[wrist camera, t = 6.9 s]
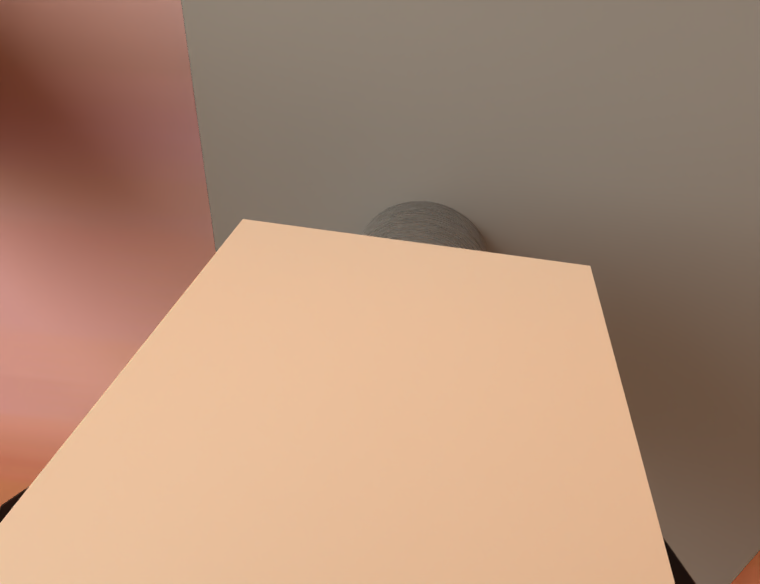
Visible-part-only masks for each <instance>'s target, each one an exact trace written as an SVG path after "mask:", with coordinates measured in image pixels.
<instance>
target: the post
mask: <svg viewBox="0 0 760 584" xmlns="http://www.w3.org/2000/svg"><path fill="white" fill-rule="evenodd" d="M362 235H365V236H373V237H380V238H388V239H395V240H403V241H410V242H417V243H425V244H432V245H440V246H447V247H454V248H462V249H469V250H477V251H484V252H488V251H487V247H486V244H485V241H484V239H483V237H482V235H481V233H480V232H479V230H478V229H477V228H476V226H475V225H474V224H473V223H472V222H471V221H470V220H469V219H468V218H466V217H465V216H464V215H463V214H461V213H459V212H458V211H456V210H454V209H452V208H450V207H448V206H445V205H442V204H439V203H434V202H428V201H410V202H404V203H400V204H397V205H394V206H391V207H389V208H387V209H385V210H383V211H382V212H380V213H379V214H377V215H376V216H375V217H374V218H373V219H372V220H371V221H370V222H369V223H368V224H367V226H366V227H365V229H364V230H363V232H362Z"/></svg>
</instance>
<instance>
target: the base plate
mask: <svg viewBox="0 0 760 584" xmlns="http://www.w3.org/2000/svg"><path fill="white" fill-rule="evenodd" d="M181 4H182V11H183V18H184V25H185V33H186V40H187V47H188V54H189V61H190V69H191V76H192V83H193V90H194V97H195V105H196V112H197V119H198V126H199V133H200V141H201V148H202V155H203V162H204V169H205V177H206V184H207V191H208V198H209V205H210V213H211V220H212V227H213V234H214V241H215V249H216V252H217V251H218V249H219V248H220V247H221V246H222V244H223V243H224V242H225V241H226V239H227V238H228V237H229V236H230V234H231V233H232V232H233V231H234V229H235V228H236V227H237V226H238V224H239V223H240V222H241V221H242V219H247V220H254V221H262V222H269V223H276V224H284V225H291V226H299V227H306V228H314V229H321V230H328V231H336V232H343V233H351V234H358V235H362V232H363V230H364V229H365V227H366V226H367V224H368V223H369V222H370V221H371V220H372V219H373V218H374V217H375V216H376V215H377V214H379V213H380V212H382V211H383V210H385V209H387V208H389V207H391V206H394V205H397V204H400V203H404V202H410V201H428V202H434V203H439V204H442V205H445V206H448V207H450V208H452V209H454V210H456V211H458V212H459V213H461V214H463V215H464V216H465V217H466V218H468V219H469V220H470V221H471V222H472V223H473V224H474V225H475V226H476V228H477V229H478V230H479V232H480V233H481V235H482V237H483V239H484V241H485V244H486V247H487V251H488V252H492V253H499V254H506V255H514V256H521V257H529V258H536V259H543V260H551V261H558V262H566V263H573V264H581V265H588V266H590V267H591V270H592V274H593V278H594V282H595V285H596V289H597V293H598V297H599V300H600V304H601V308H602V312H603V315H604V319H605V323H606V327H607V330H608V334H609V338H610V342H611V345H612V349H613V353H614V357H615V360H616V364H617V368H618V372H619V375H620V379H621V383H622V387H623V390H624V394H625V398H626V402H627V405H628V409H629V413H630V417H631V420H632V424H633V428H634V432H635V435H636V439H637V443H638V447H639V450H640V454H641V458H642V462H643V465H644V469H645V473H646V477H647V480H648V484H649V488H650V491H651V495H652V499H653V503H654V506H655V510H656V514H657V518H658V521H659V525H660V529H661V533H662V536H663V537H664V539H665V540H666V542H667V543H668V545H669V546H670V547H671V549H672V550H673V552H674V553H675V554H676V556H677V557H678V559H679V560H680V562H681V563H682V564H683V566H684V567H685V569H686V570H687V571H688V573H689V574H690V576H691V577H692V579H693V580H694V581H695V583H696V584H731V583H732V582H733V580H734V579H735V578H736V577H737V576H738V575H739V573H740V572H741V571H742V570H743V569H744V568H745V567H746V565H747V564H748V563H749V562H750V561H751V560H752V559H753V557H754V556H755V555H756V554H757V553H758V552H759V550H760V0H181Z"/></svg>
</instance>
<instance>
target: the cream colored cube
mask: <svg viewBox="0 0 760 584" xmlns="http://www.w3.org/2000/svg"><path fill="white" fill-rule="evenodd" d="M0 584H675V581H674V578H673V574H672V570H671V566H670V563H669V559H668V555H667V551H666V548H665V544H664V540H663V536H662V533H661V529H660V525H659V521H658V518H657V514H656V510H655V506H654V503H653V499H652V495H651V491H650V488H649V484H648V480H647V477H646V473H645V469H644V465H643V462H642V458H641V454H640V450H639V447H638V443H637V439H636V435H635V432H634V428H633V424H632V420H631V417H630V413H629V409H628V405H627V402H626V398H625V394H624V390H623V387H622V383H621V379H620V375H619V372H618V368H617V364H616V360H615V357H614V353H613V349H612V345H611V342H610V338H609V334H608V330H607V327H606V323H605V319H604V315H603V312H602V308H601V304H600V300H599V297H598V293H597V289H596V285H595V282H594V278H593V274H592V270H591V267H590V266H588V265H581V264H573V263H566V262H558V261H551V260H543V259H536V258H529V257H521V256H514V255H506V254H499V253H492V252H484V251H477V250H469V249H462V248H454V247H447V246H440V245H432V244H425V243H417V242H410V241H403V240H395V239H388V238H380V237H373V236H365V235H358V234H351V233H343V232H336V231H328V230H321V229H314V228H306V227H299V226H291V225H284V224H276V223H269V222H262V221H254V220H247V219H242V221H241V222H240V223H239V224H238V226H237V227H236V228H235V229H234V231H233V232H232V233H231V234H230V236H229V237H228V238H227V239H226V241H225V242H224V243H223V244H222V246H221V247H220V248H219V249H218V251H217V252H216V253H215V254H214V256H213V257H212V258H211V259H210V261H209V262H208V263H207V265H206V266H205V267H204V268H203V270H202V271H201V272H200V273H199V275H198V276H197V277H196V278H195V280H194V281H193V282H192V283H191V285H190V286H189V287H188V288H187V290H186V291H185V292H184V293H183V295H182V296H181V297H180V298H179V300H178V301H177V302H176V303H175V305H174V306H173V307H172V308H171V310H170V311H169V312H168V313H167V315H166V316H165V317H164V318H163V320H162V321H161V322H160V323H159V325H158V326H157V327H156V328H155V330H154V331H153V332H152V333H151V335H150V336H149V337H148V338H147V340H146V341H145V342H144V343H143V345H142V346H141V347H140V348H139V350H138V351H137V352H136V353H135V355H134V356H133V357H132V359H131V360H130V361H129V362H128V364H127V365H126V366H125V367H124V369H123V370H122V371H121V372H120V374H119V375H118V376H117V377H116V379H115V380H114V381H113V382H112V384H111V385H110V386H109V387H108V389H107V390H106V391H105V392H104V394H103V395H102V396H101V397H100V399H99V400H98V401H97V402H96V404H95V405H94V406H93V407H92V409H91V410H90V411H89V412H88V414H87V415H86V416H85V417H84V419H83V420H82V421H81V422H80V424H79V425H78V426H77V427H76V429H75V430H74V431H73V432H72V434H71V435H70V436H69V437H68V439H67V440H66V441H65V442H64V444H63V445H62V446H61V447H60V449H59V450H58V451H57V453H56V454H55V455H54V456H53V458H52V459H51V460H50V461H49V463H48V464H47V465H46V466H45V468H44V469H43V470H42V471H41V473H40V474H39V475H38V476H37V478H36V479H35V480H34V481H33V483H32V484H31V485H30V486H29V488H28V489H27V490H26V491H25V493H24V494H23V495H22V496H21V498H20V499H19V500H18V501H17V503H16V504H15V505H14V506H13V508H12V509H11V510H10V511H9V513H8V514H7V515H6V516H5V518H4V519H3V520H2V521H1V523H0Z"/></svg>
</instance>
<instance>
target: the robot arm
mask: <svg viewBox="0 0 760 584" xmlns="http://www.w3.org/2000/svg"><path fill="white" fill-rule="evenodd" d="M28 488H29V487H27V488H26V489H24V490H23V491H22V492H20V493H19V494H17V495H16V496H14V497H13V498H11V499H10V500H8V501H7V502H5V503H4V504H2V505H1V507H0V523H1V521H2V520H3V519H4V518H5V516H6V515H7V514H8V513H9V511H10V510H11V509H12V508H13V506H14V505H15V504H16V503H17V501H18V500H19V499H20V498H21V496H22V495H23V494H24V493H25V491H26V490H27V489H28ZM663 540H664V544H665V548H666V551H667V555H668V559H669V563H670V566H671V570H672V574H673V578H674V581H675V584H696V583H695V581H694V580H693V579H692V577H691V576H690V574H689V573H688V571H687V570H686V569H685V567H684V566H683V564H682V563H681V562H680V560H679V559H678V557H677V556H676V554H675V553H674V552H673V550H672V549H671V547H670V546H669V545H668V543H667V542H666V540H665V539H664V537H663Z"/></svg>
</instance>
